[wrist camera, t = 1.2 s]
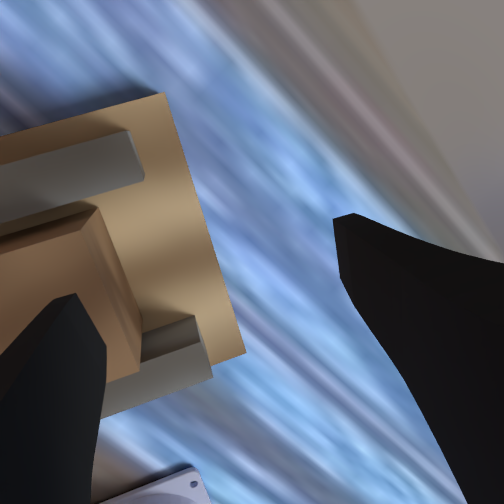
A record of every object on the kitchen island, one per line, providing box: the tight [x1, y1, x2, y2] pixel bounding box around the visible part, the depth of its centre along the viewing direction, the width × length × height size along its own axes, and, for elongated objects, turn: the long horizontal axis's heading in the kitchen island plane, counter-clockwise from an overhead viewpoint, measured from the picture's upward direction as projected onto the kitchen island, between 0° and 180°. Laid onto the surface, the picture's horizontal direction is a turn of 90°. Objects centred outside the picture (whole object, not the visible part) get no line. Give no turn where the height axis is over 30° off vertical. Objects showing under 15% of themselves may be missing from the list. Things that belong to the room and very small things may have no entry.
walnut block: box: [0, 207, 143, 383], centre depth 17 cm, size 6×5×5 cm
